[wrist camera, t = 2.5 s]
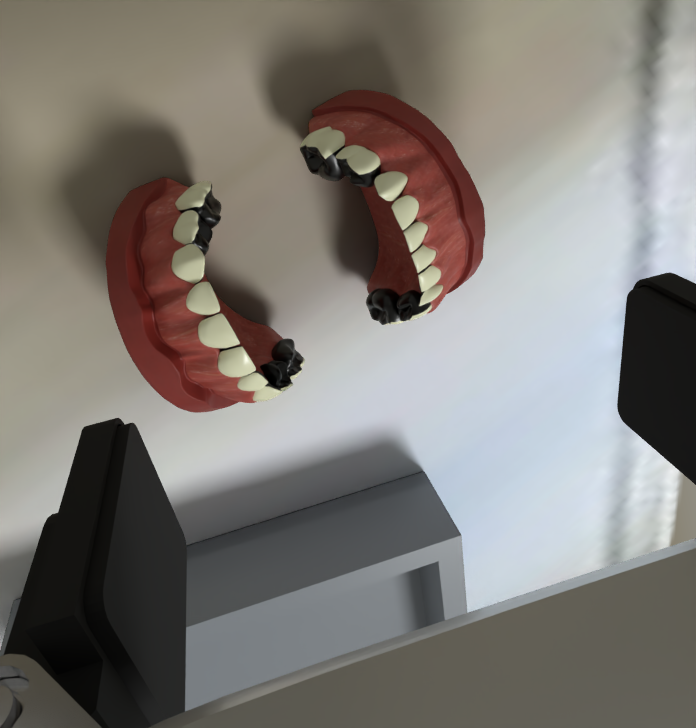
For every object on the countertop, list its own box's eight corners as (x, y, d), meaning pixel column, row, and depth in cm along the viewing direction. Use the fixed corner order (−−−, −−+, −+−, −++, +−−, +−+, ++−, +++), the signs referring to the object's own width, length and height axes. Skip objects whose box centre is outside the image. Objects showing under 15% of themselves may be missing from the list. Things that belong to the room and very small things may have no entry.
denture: (531, 326, 13) (207, 484, 13) (456, 267, 17) (203, 390, 16) (466, 65, 10) (46, 265, 10) (392, 63, 14) (84, 209, 14)
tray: (14, 600, 18) (-12, 693, 15) (424, 471, 20) (461, 535, 17) (172, 813, 26) (173, 896, 24) (451, 707, 28) (479, 773, 26)
